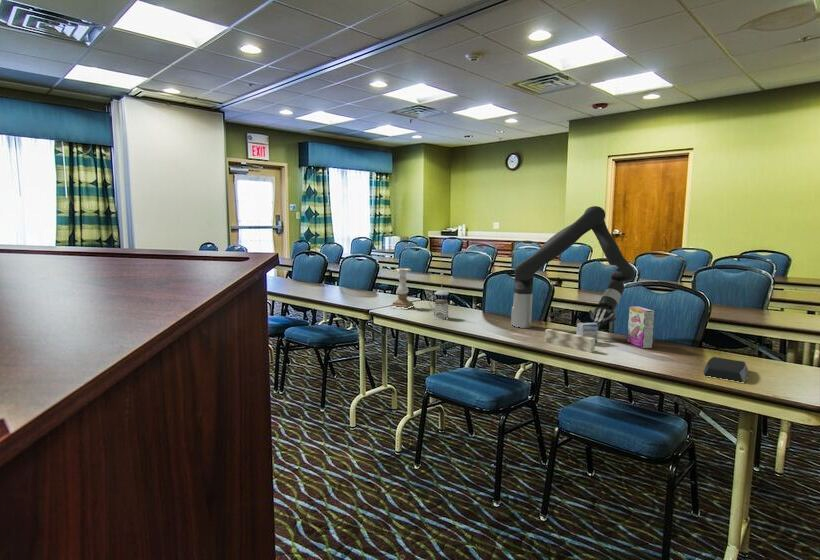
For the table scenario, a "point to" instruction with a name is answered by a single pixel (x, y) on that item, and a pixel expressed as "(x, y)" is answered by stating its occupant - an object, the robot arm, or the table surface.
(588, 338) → the birch board
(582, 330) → the medicine box
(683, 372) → the table surface
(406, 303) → the candle holder
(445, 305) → the french press
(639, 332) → the candy bar box
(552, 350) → the table surface
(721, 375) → the external hard drive
